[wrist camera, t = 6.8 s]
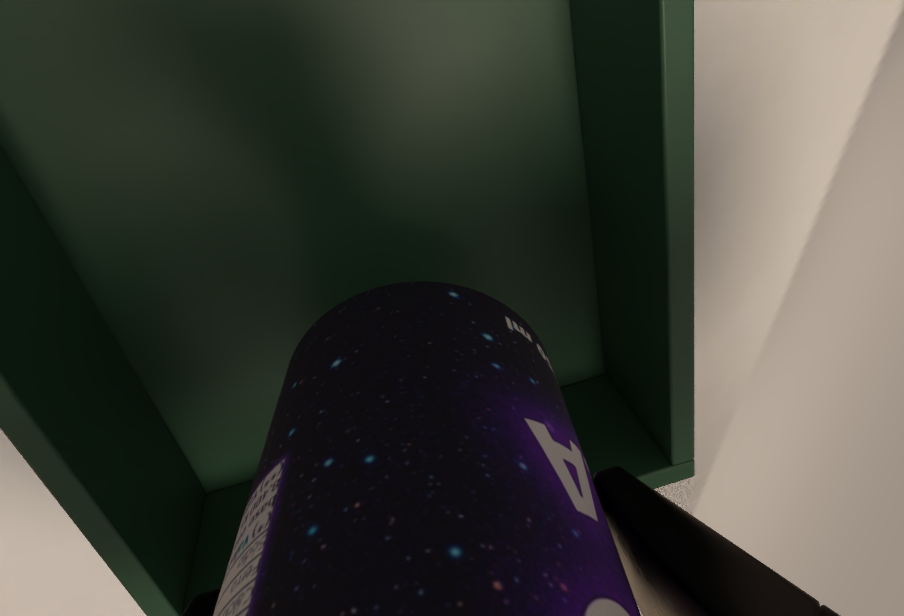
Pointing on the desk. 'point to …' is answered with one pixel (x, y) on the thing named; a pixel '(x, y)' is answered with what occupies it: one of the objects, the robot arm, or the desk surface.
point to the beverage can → (423, 473)
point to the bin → (323, 230)
